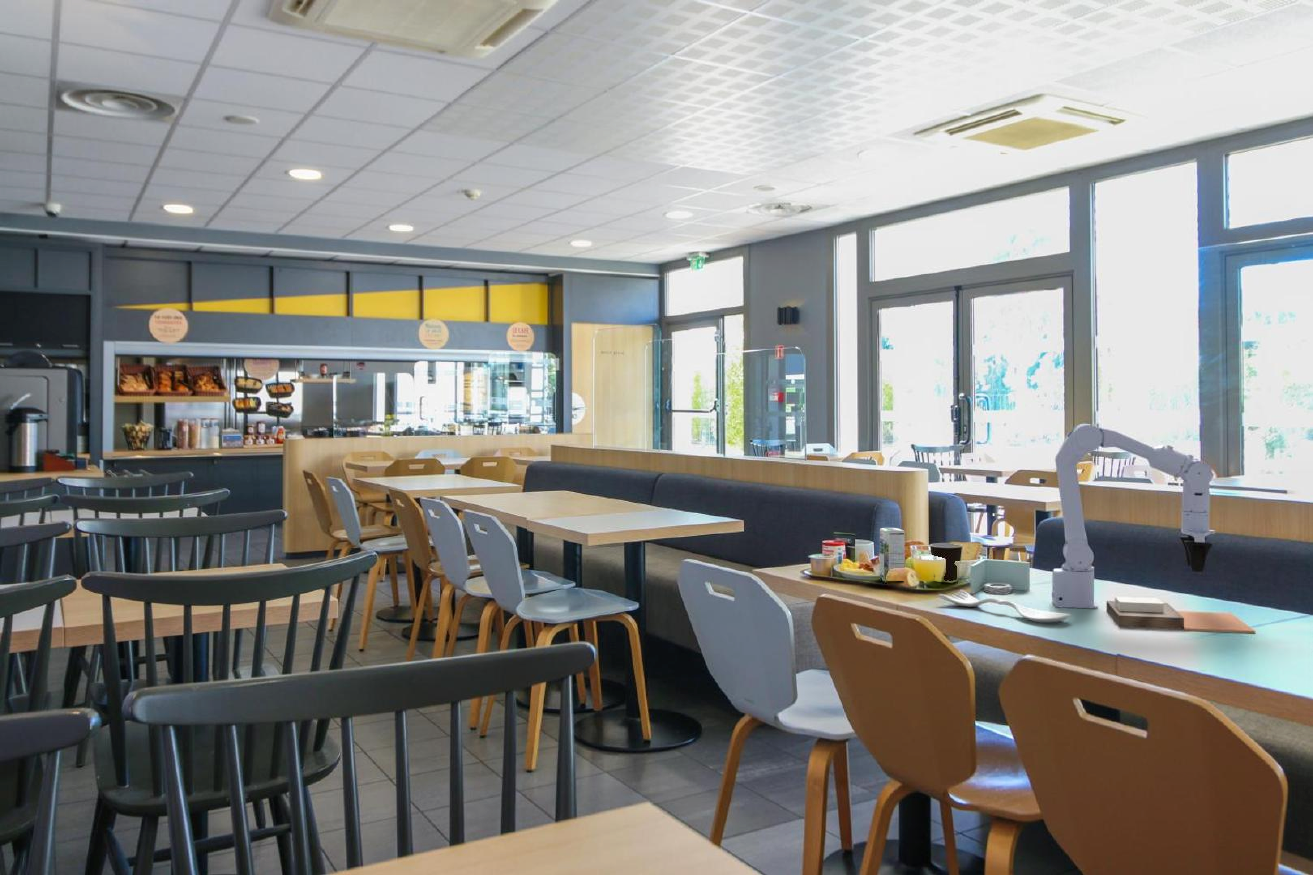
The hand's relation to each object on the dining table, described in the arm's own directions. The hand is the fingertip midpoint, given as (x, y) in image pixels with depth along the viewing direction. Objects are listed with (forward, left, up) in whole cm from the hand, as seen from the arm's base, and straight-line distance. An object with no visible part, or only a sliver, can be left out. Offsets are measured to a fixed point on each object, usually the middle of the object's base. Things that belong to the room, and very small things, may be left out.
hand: (1195, 568), depth 233 cm
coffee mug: (-55, +29, -10) cm, 64 cm away
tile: (-14, -13, -7) cm, 21 cm away
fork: (-43, -12, -10) cm, 46 cm away
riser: (-13, -13, -10) cm, 21 cm away
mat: (0, -13, -10) cm, 16 cm away
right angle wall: (-42, +15, -10) cm, 46 cm away
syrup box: (-70, +26, -10) cm, 76 cm away
